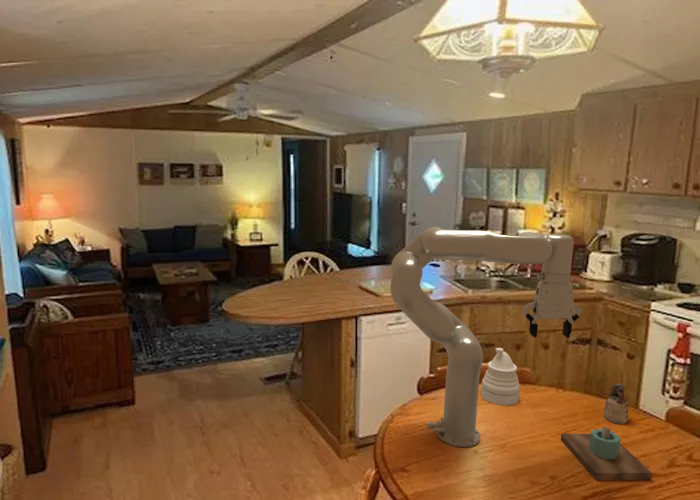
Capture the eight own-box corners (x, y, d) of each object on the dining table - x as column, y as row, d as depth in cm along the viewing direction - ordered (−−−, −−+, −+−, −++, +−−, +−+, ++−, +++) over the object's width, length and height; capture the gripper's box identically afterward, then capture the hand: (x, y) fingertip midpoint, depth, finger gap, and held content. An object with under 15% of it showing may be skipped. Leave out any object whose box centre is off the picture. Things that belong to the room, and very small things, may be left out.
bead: (598, 459, 142) (600, 442, 141) (585, 445, 148) (586, 429, 148) (622, 458, 142) (625, 442, 141) (608, 445, 149) (610, 429, 148)
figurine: (624, 415, 172) (628, 381, 170) (630, 425, 165) (634, 390, 163) (601, 412, 174) (605, 378, 172) (606, 422, 167) (610, 387, 165)
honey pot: (499, 408, 174) (503, 357, 171) (473, 393, 186) (476, 345, 183) (526, 400, 181) (531, 351, 178) (499, 386, 192) (503, 340, 189)
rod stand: (595, 480, 135) (599, 448, 134) (560, 439, 155) (563, 411, 154) (651, 479, 136) (655, 448, 135) (609, 439, 156) (612, 411, 154)
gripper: (530, 280, 142) (525, 340, 145) (591, 281, 143) (585, 340, 146) (520, 274, 150) (515, 331, 152) (578, 275, 151) (572, 332, 154)
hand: (549, 336), depth 149 cm, fingers open, 9 cm apart
